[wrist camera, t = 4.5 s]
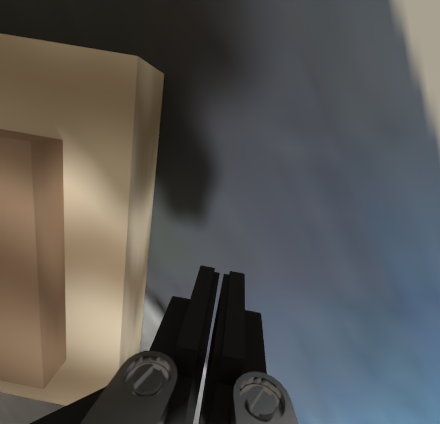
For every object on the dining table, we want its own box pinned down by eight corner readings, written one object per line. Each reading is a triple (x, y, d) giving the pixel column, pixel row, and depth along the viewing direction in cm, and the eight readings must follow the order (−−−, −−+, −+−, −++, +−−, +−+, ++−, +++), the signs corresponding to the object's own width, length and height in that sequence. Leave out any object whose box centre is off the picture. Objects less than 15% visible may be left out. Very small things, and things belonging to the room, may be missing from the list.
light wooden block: (138, 365, 16) (116, 416, 13) (-53, 327, 17) (-114, 368, 14) (164, 74, 11) (137, 56, 8) (-107, 29, 12) (-219, -3, 9)
